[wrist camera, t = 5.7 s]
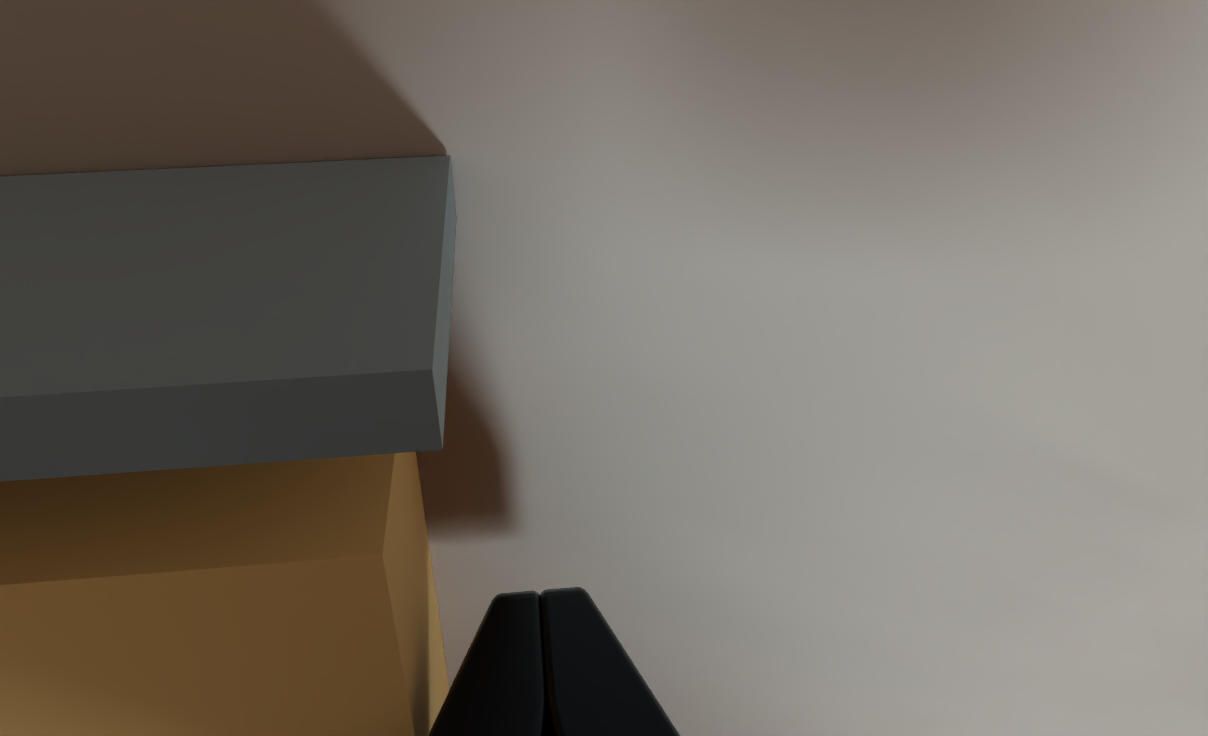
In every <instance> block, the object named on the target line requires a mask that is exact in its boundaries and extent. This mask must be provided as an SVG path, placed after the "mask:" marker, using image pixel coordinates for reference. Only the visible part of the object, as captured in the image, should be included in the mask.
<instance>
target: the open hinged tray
mask: <svg viewBox="0 0 1208 736" xmlns="http://www.w3.org/2000/svg"><path fill="white" fill-rule="evenodd" d="M455 234H456V208H455V198H454V188H453V179H452V169H451V159H450V156H429V157H408V158H386V159H365V160H343V161H321V162H300V163H278V164H257V165H235V166H213V167H192V168H170V169H148V170H127V171H105V172H84V173H62V174H40V175H19V176H0V482H1V481H15V480H29V479H43V478H57V477H71V476H85V475H98V474H112V473H126V472H140V471H154V470H168V469H182V468H196V467H210V466H224V465H238V464H252V463H266V462H280V461H293V460H307V459H321V458H335V457H349V456H363V455H377V454H391V453H405V452H419V451H433V450H443V437H444V420H445V403H446V386H447V369H448V352H449V335H450V319H451V302H452V285H453V268H454V251H455Z"/></svg>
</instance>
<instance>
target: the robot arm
mask: <svg viewBox="0 0 1208 736" xmlns="http://www.w3.org/2000/svg"><path fill="white" fill-rule="evenodd" d="M428 736H680V735H679V733H678V732H677V730H676V729H675V727H674V725H673V724H672V722H671V721H670V719H669V718H668V716H667V715H666V713H665V712H664V710H663V708H662V707H661V705H660V704H659V702H658V701H657V699H656V698H655V696H654V694H653V693H652V691H651V690H650V688H649V687H648V685H647V684H646V682H645V681H644V679H643V677H642V676H641V674H640V673H639V671H638V670H637V668H636V667H635V665H634V664H633V662H632V660H631V659H630V657H629V656H628V654H627V653H626V651H625V650H624V648H623V647H622V645H621V643H620V642H619V640H618V639H617V637H616V636H615V634H614V633H613V631H612V630H611V628H610V626H609V625H608V623H607V622H606V620H605V619H604V617H603V616H602V614H601V612H600V611H599V609H598V608H597V606H596V605H595V603H594V602H593V600H592V599H591V597H590V596H589V594H588V593H587V592H586V591H585V590H584V589H582V588H580V587H572V588H560V589H548V590H544V591H543V592H542V593H541V594H540V595H539V594H538V593H537V592H535V591H524V592H512V593H501V594H498V595H497V596H495V597H494V599H493V600H492V601H491V603H490V605H489V607H488V609H487V612H486V614H485V616H484V618H483V620H482V622H481V624H480V626H479V629H478V631H477V633H476V635H475V637H474V639H473V641H472V643H471V646H470V648H469V650H468V652H467V654H466V656H465V658H464V660H463V663H462V665H461V667H460V669H459V671H458V673H457V675H456V677H455V679H454V682H453V684H452V686H451V688H450V690H449V692H448V694H447V696H446V699H445V701H444V703H443V705H442V707H441V709H440V711H439V713H438V716H437V718H436V720H435V722H434V724H433V726H432V728H431V730H430V733H429V735H428Z"/></svg>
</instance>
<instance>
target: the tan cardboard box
mask: <svg viewBox="0 0 1208 736" xmlns="http://www.w3.org/2000/svg"><path fill="white" fill-rule="evenodd" d="M449 690H450V688H449V681H448V674H447V667H446V660H445V653H444V646H443V639H442V632H441V625H440V618H439V611H438V604H437V597H436V590H435V583H434V576H433V569H432V562H431V555H430V548H429V541H428V534H427V527H426V520H425V513H424V506H423V499H422V492H421V485H420V478H419V471H418V464H417V457H416V452H405V453H391V454H377V455H363V456H349V457H335V458H321V459H307V460H293V461H280V462H266V463H252V464H238V465H224V466H210V467H196V468H182V469H168V470H154V471H140V472H126V473H112V474H98V475H85V476H71V477H57V478H43V479H29V480H15V481H1V482H0V736H428V735H429V733H430V730H431V728H432V726H433V724H434V722H435V720H436V718H437V716H438V713H439V711H440V709H441V707H442V705H443V703H444V701H445V699H446V696H447V694H448V692H449Z"/></svg>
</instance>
